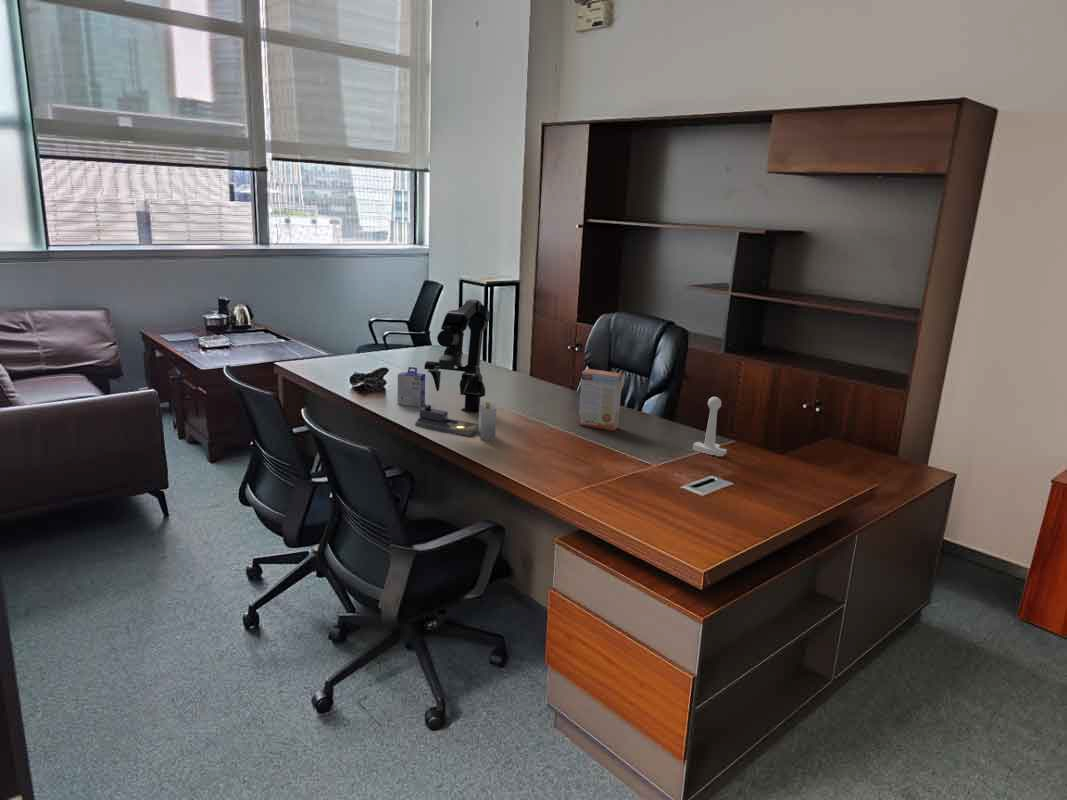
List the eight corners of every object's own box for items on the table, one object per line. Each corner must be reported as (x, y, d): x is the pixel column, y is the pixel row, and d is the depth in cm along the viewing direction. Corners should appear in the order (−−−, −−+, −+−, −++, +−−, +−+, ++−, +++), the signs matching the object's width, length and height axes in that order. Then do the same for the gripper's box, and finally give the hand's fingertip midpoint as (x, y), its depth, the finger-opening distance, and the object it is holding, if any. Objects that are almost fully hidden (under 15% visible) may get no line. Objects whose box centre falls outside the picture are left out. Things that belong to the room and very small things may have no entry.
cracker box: (618, 427, 274) (623, 373, 268) (613, 431, 269) (618, 376, 263) (583, 421, 279) (587, 367, 274) (577, 425, 274) (581, 370, 268)
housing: (478, 435, 257) (479, 401, 253) (492, 434, 258) (493, 400, 255) (480, 440, 252) (481, 405, 249) (495, 439, 253) (496, 404, 250)
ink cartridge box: (425, 403, 291) (426, 367, 287) (420, 407, 286) (421, 371, 282) (402, 400, 293) (402, 365, 289) (396, 404, 288) (397, 368, 284)
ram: (424, 416, 269) (425, 403, 267) (448, 421, 265) (448, 408, 263) (419, 419, 265) (419, 406, 264) (443, 423, 262) (443, 410, 260)
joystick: (690, 450, 253) (697, 394, 247) (701, 445, 258) (708, 390, 253) (720, 459, 246) (727, 401, 241) (730, 453, 252) (737, 397, 246)
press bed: (430, 418, 272) (430, 412, 272) (484, 429, 264) (484, 423, 263) (415, 425, 263) (415, 419, 263) (470, 436, 255) (470, 430, 254)
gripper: (420, 344, 250) (416, 390, 251) (473, 349, 246) (468, 396, 247) (431, 345, 261) (427, 389, 262) (482, 350, 257) (478, 395, 258)
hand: (450, 392), depth 257 cm, fingers open, 9 cm apart
